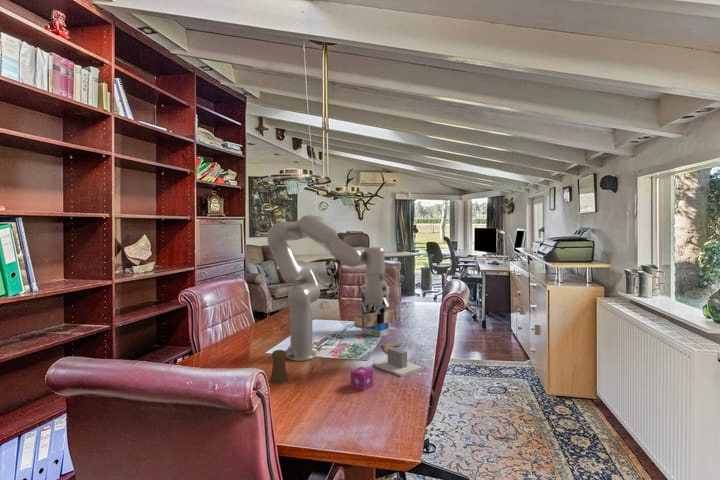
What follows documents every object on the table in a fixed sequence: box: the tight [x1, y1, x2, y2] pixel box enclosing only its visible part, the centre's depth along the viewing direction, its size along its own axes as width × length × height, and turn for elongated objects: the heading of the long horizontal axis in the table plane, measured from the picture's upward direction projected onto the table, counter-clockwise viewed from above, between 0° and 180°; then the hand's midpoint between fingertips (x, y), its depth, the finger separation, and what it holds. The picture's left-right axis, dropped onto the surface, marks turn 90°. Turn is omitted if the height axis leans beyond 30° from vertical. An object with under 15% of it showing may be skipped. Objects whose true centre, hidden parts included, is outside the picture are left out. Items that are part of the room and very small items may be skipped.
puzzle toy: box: [350, 366, 374, 392], centre depth 138 cm, size 6×6×6 cm
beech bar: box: [353, 308, 398, 330], centre depth 158 cm, size 20×4×4 cm, turn 130°
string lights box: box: [361, 283, 390, 338], centre depth 205 cm, size 13×8×26 cm, turn 49°
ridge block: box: [372, 346, 423, 377], centre depth 156 cm, size 12×16×7 cm
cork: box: [270, 349, 288, 384], centre depth 143 cm, size 6×6×11 cm
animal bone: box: [381, 342, 403, 355], centre depth 175 cm, size 21×2×10 cm
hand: (376, 321), depth 158 cm, fingers closed on beech bar, 4 cm apart
